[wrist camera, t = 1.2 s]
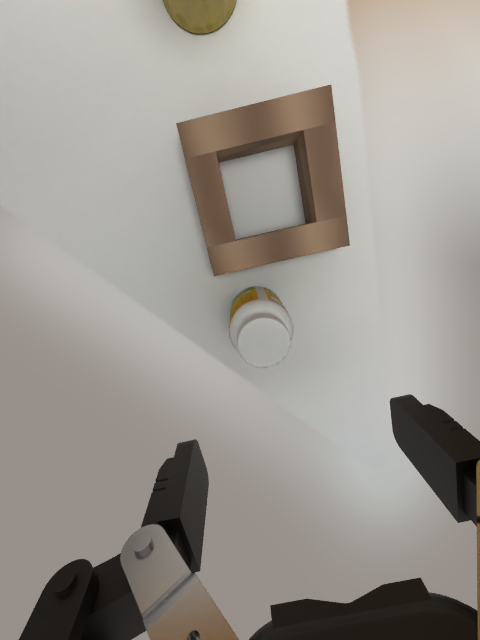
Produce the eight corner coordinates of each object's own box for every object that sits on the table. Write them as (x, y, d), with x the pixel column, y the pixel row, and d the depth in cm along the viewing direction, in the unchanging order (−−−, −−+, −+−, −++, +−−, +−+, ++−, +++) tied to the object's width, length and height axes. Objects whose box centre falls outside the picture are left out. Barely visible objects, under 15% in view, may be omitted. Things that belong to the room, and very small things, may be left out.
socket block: (216, 270, 30) (214, 276, 26) (184, 139, 27) (176, 123, 23) (334, 243, 30) (349, 245, 26) (317, 106, 26) (331, 84, 23)
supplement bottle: (284, 288, 31) (306, 311, 22) (278, 337, 32) (295, 378, 23) (232, 283, 31) (231, 305, 21) (228, 333, 32) (225, 373, 23)
